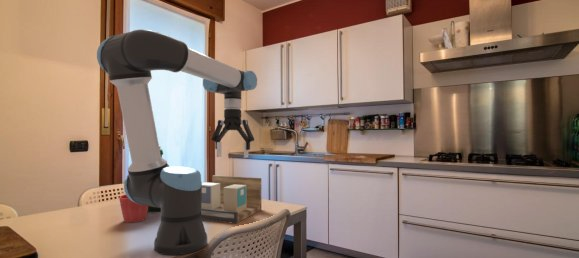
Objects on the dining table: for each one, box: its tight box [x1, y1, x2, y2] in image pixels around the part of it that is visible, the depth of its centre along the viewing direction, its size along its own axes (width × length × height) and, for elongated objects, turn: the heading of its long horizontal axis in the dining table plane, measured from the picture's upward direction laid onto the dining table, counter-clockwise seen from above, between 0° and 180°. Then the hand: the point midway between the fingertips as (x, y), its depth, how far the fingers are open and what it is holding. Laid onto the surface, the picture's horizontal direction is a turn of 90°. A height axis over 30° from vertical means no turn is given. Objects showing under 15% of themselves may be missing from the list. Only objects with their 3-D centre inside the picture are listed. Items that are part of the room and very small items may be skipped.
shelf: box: [201, 174, 262, 224], centre depth 127 cm, size 21×25×14 cm
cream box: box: [201, 181, 220, 209], centre depth 130 cm, size 6×8×10 cm
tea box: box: [224, 184, 247, 213], centre depth 124 cm, size 8×6×10 cm
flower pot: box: [118, 194, 148, 223], centre depth 118 cm, size 11×11×10 cm
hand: (232, 157), depth 133 cm, fingers open, 13 cm apart
